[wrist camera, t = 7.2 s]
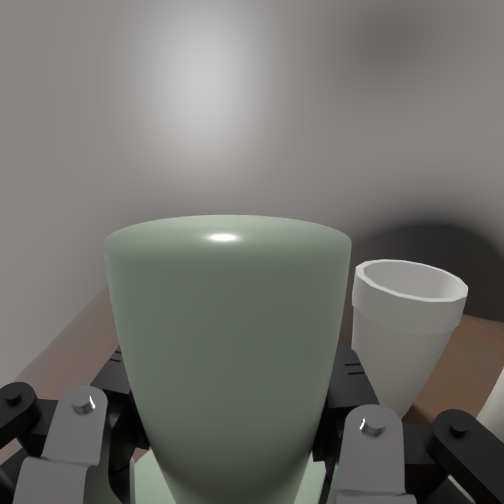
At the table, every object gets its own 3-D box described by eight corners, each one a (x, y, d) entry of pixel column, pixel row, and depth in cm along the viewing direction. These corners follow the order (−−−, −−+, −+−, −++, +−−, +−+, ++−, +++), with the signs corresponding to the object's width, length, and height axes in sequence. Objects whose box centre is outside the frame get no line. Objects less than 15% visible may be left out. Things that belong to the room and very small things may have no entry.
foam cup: (424, 440, 17) (486, 306, 14) (324, 434, 20) (357, 294, 16) (414, 377, 26) (446, 265, 22) (335, 370, 28) (355, 254, 25)
